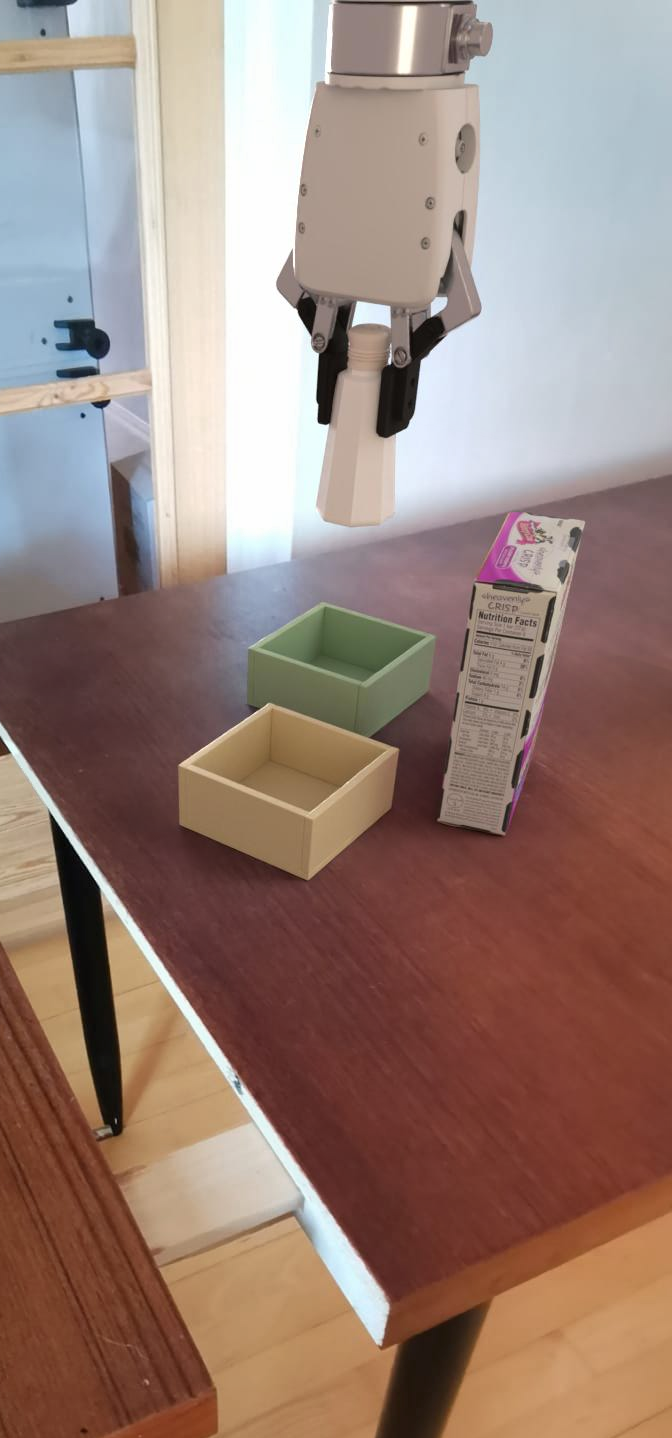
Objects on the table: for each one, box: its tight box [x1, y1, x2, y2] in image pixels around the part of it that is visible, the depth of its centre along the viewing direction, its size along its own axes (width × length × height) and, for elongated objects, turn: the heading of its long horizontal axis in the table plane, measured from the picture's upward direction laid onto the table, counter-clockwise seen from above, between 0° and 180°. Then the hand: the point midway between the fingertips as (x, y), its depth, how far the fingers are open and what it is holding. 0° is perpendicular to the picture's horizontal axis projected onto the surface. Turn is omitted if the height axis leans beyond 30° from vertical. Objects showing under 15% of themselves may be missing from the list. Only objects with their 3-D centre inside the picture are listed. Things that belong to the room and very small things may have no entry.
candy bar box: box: [436, 511, 586, 837], centre depth 69 cm, size 11×5×16 cm, turn 158°
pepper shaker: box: [314, 322, 397, 528], centre depth 71 cm, size 5×5×11 cm
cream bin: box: [177, 703, 400, 881], centre depth 71 cm, size 10×10×4 cm
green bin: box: [246, 601, 437, 738], centre depth 83 cm, size 10×10×4 cm
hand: (363, 422), depth 71 cm, fingers closed on pepper shaker, 3 cm apart
